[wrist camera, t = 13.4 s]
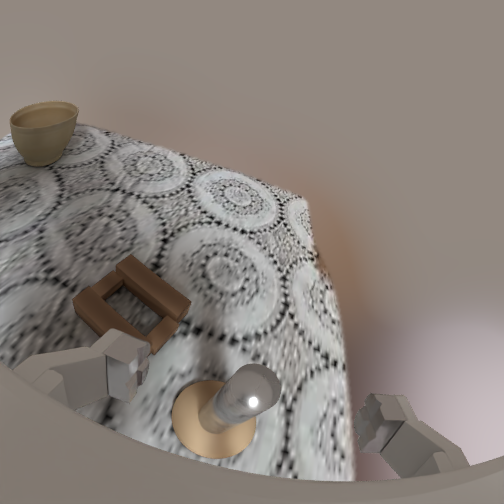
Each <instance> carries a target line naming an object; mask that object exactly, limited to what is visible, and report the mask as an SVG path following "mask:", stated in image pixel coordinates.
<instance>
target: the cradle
mask: <svg viewBox="0 0 504 504" xmlns="http://www.w3.org/2000/svg"><path fill="white" fill-rule="evenodd" d="M122 285H123V286H124V287H125V288H127V289H128V290H129V291H130V292H131V293H132V294H134V295H135V296H136V297H137V298H138V299H139V300H141V301H142V302H143V303H144V304H146V305H147V306H148V307H149V308H150V309H152V310H153V311H154V312H155V313H157V314H158V315H159V316H160V317H162V318H163V320H162V321H161V322H160V323H159V324H158V325H157V326H156V327H155V328H154V329H153V330H152V331H151V332H150V333H149V334H148V335H147V336H146V337H145V336H144V335H143V334H141V333H140V332H139V331H138V330H137V329H136V328H134V327H133V326H132V325H131V324H130V323H129V322H127V321H126V320H125V319H124V318H123V317H122V316H121V315H119V314H118V313H117V312H116V311H115V310H114V309H113V308H112V307H111V306H110V305H108V304H107V303H106V302H105V301H104V300H106V299H107V298H108V297H109V296H110V295H112V294H113V293H114V292H115V291H116V290H118V289H119V288H120V287H121V286H122ZM72 301H73V305H74V309H75V312H76V313H77V314H78V315H79V316H80V317H81V319H82V320H83V321H84V322H85V323H86V324H87V325H88V326H89V327H90V328H91V329H92V330H93V331H94V332H96V333H97V334H98V335H99V336H100V337H102V336H103V335H104V334H105V333H106V332H107V331H109V330H110V329H113V328H114V329H116V330H119V331H121V332H124V333H127V334H129V335H131V336H134V337H136V338H139V339H141V340H144V341H147V342H149V343H150V353H152V354H153V355H155V354H156V353H157V352H158V351H159V350H160V348H161V347H162V346H163V345H164V344H165V343H166V342H167V341H168V340H169V338H170V337H171V336H172V335H173V334H174V333H175V332H176V331H177V330H178V326H179V324H178V323H179V322H180V321H181V320H182V319H183V318H184V317H185V316H186V314H187V313H188V310H189V308H190V305H191V301H190V300H189V299H187V298H186V297H185V296H183V295H182V294H181V293H179V292H178V291H177V290H175V289H174V288H173V287H171V286H170V285H169V284H168V283H166V282H165V281H164V280H162V279H161V278H160V277H159V276H157V275H156V274H155V273H153V272H152V271H151V270H150V269H148V268H147V267H146V266H145V265H143V264H142V263H141V262H140V261H139V260H137V259H136V258H135V257H134V256H132V255H131V254H130V255H129V256H128V257H126V258H125V259H124V260H122V261H121V262H119V263H118V264H117V265H116V272H115V271H114V270H113V271H112V272H110V273H109V274H108V275H106V276H105V277H104V278H102V279H101V280H100V281H99V282H97V283H96V284H95V285H94V286H92V287H90V286H88V287H87V288H86V289H84V290H83V291H82V292H81V293H79V294H78V295H77V296H76V297H74V298H73V299H72ZM150 353H149V354H148V356H149V355H150ZM148 356H147V357H148Z"/></svg>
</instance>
